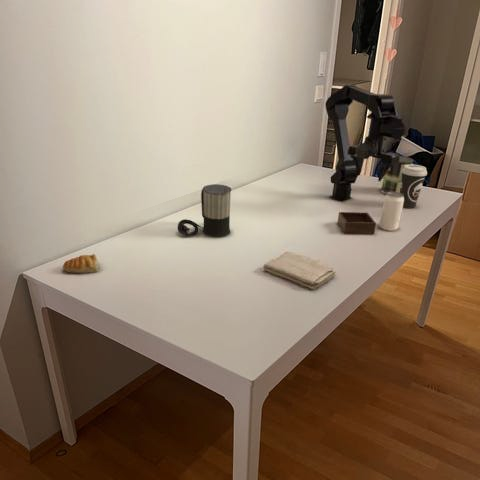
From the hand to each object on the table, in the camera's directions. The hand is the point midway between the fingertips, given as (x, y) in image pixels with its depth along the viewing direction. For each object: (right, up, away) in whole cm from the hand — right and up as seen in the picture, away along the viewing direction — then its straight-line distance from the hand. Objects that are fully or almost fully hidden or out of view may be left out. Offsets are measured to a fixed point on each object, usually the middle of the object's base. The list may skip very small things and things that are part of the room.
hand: (368, 178), depth 176 cm
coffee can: (+18, +2, +27) cm, 32 cm away
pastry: (-91, -39, -44) cm, 108 cm away
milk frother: (-60, -24, -19) cm, 67 cm away
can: (+4, -20, -9) cm, 23 cm away
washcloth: (-31, -40, -42) cm, 66 cm away
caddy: (-8, -21, -11) cm, 25 cm away
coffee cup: (+18, -7, +12) cm, 23 cm away
